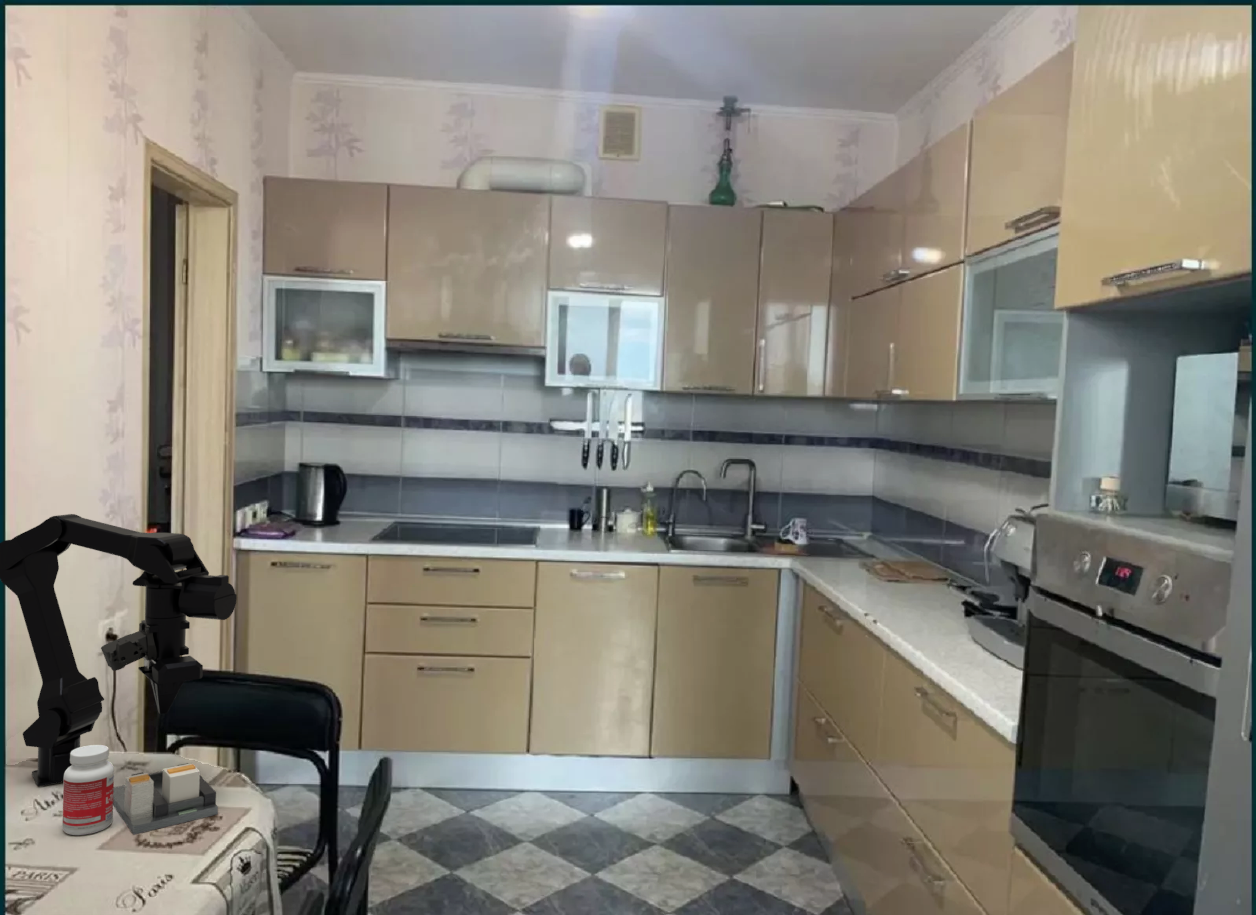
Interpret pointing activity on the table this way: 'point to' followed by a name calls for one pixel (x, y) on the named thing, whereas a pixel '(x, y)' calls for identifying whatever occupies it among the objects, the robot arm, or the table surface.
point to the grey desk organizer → (159, 803)
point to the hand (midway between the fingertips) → (163, 713)
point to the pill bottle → (88, 791)
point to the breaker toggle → (180, 783)
